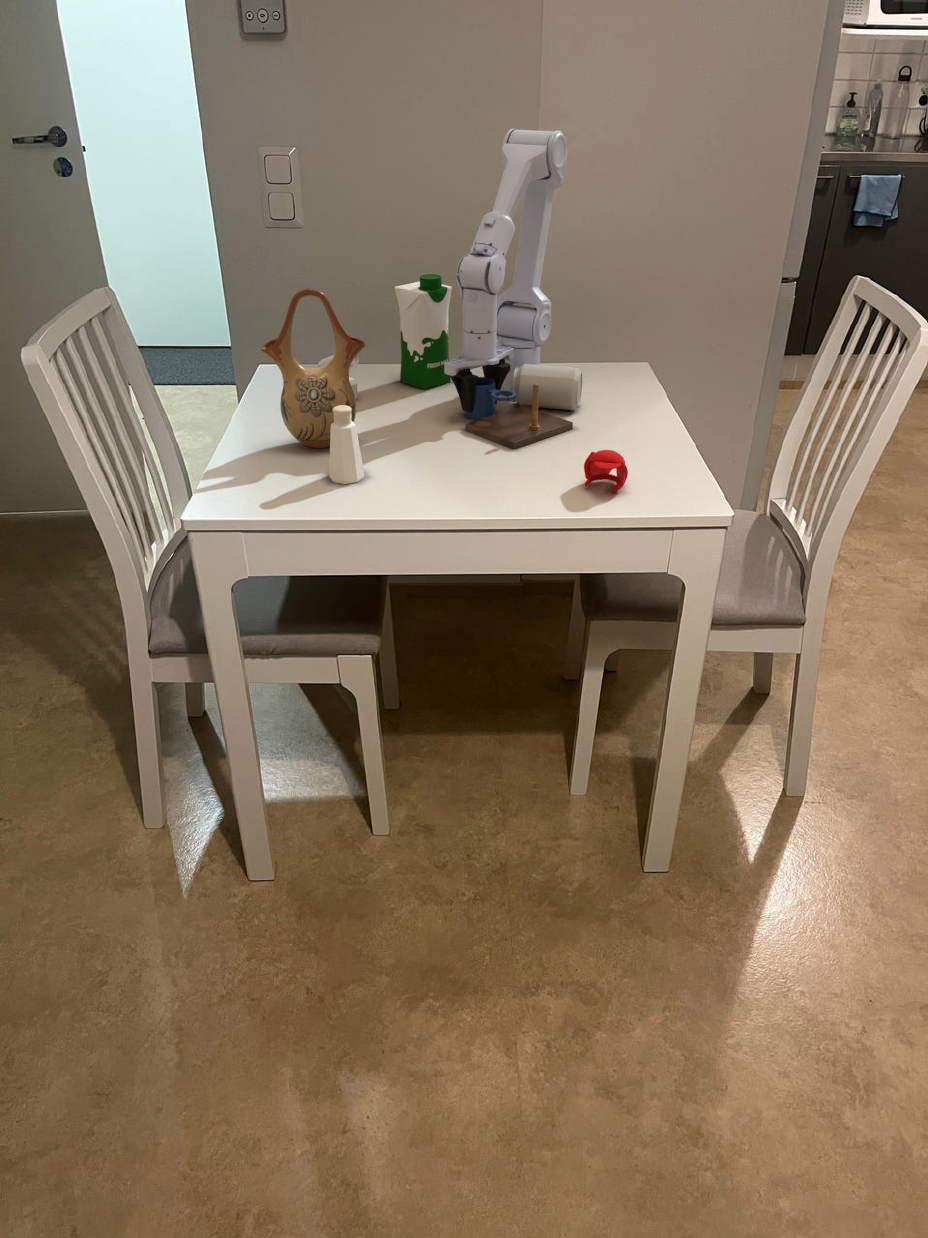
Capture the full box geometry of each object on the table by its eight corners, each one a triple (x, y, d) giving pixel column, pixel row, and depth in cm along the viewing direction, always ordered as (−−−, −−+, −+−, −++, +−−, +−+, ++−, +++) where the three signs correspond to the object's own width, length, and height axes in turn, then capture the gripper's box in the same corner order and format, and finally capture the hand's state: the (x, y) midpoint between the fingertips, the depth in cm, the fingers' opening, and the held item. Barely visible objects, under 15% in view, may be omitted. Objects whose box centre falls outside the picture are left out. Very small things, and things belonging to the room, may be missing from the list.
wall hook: (338, 355, 168) (297, 346, 173) (341, 408, 173) (301, 397, 178) (370, 344, 173) (329, 335, 178) (372, 395, 178) (333, 386, 183)
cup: (458, 414, 170) (458, 381, 167) (480, 407, 173) (480, 374, 170) (500, 430, 163) (500, 395, 160) (522, 422, 166) (523, 389, 163)
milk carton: (424, 391, 180) (421, 282, 170) (392, 381, 186) (388, 274, 175) (457, 381, 186) (456, 274, 175) (426, 371, 191) (423, 267, 181)
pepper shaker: (331, 470, 148) (326, 401, 142) (366, 470, 148) (362, 401, 142) (326, 484, 144) (320, 413, 138) (362, 484, 143) (358, 413, 138)
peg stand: (465, 429, 163) (465, 378, 158) (523, 411, 171) (524, 362, 166) (514, 449, 155) (515, 396, 151) (572, 428, 163) (575, 377, 159)
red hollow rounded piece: (579, 477, 145) (581, 440, 142) (617, 476, 146) (621, 439, 143) (588, 499, 139) (591, 460, 135) (629, 498, 139) (632, 459, 136)
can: (584, 380, 174) (519, 375, 177) (581, 359, 167) (514, 355, 170) (578, 417, 173) (513, 412, 175) (575, 398, 165) (507, 393, 168)
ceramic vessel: (369, 431, 162) (360, 279, 149) (373, 451, 155) (364, 292, 142) (271, 437, 160) (254, 283, 147) (271, 457, 153) (252, 296, 140)
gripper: (463, 342, 155) (464, 422, 162) (526, 326, 163) (524, 403, 170) (435, 333, 159) (437, 411, 167) (498, 318, 168) (497, 393, 175)
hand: (479, 407), depth 169 cm, fingers closed on cup, 5 cm apart
